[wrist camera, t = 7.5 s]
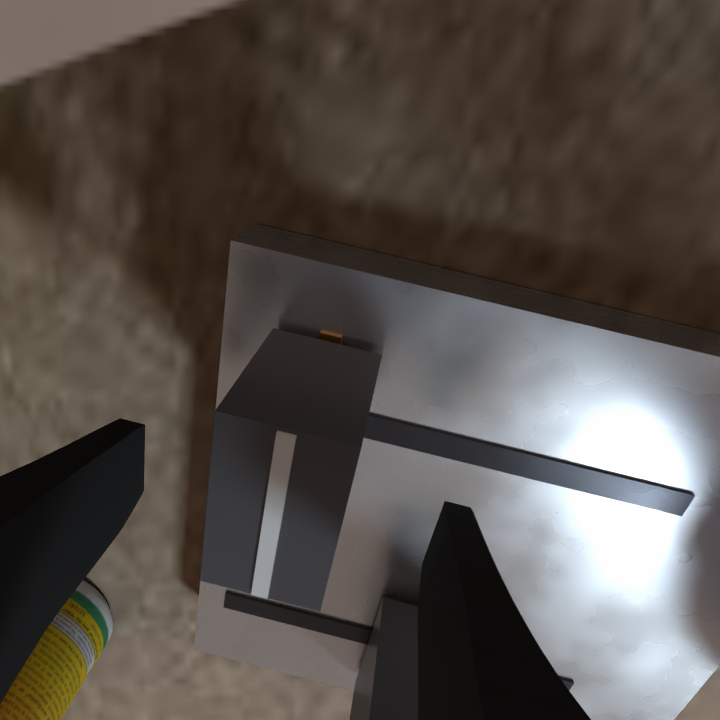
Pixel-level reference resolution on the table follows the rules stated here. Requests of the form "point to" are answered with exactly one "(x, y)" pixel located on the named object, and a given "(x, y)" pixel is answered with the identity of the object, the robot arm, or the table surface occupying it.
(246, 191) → the table surface
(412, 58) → the table surface
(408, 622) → the far fader
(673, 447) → the fader panel
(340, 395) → the block
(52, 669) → the supplement bottle
